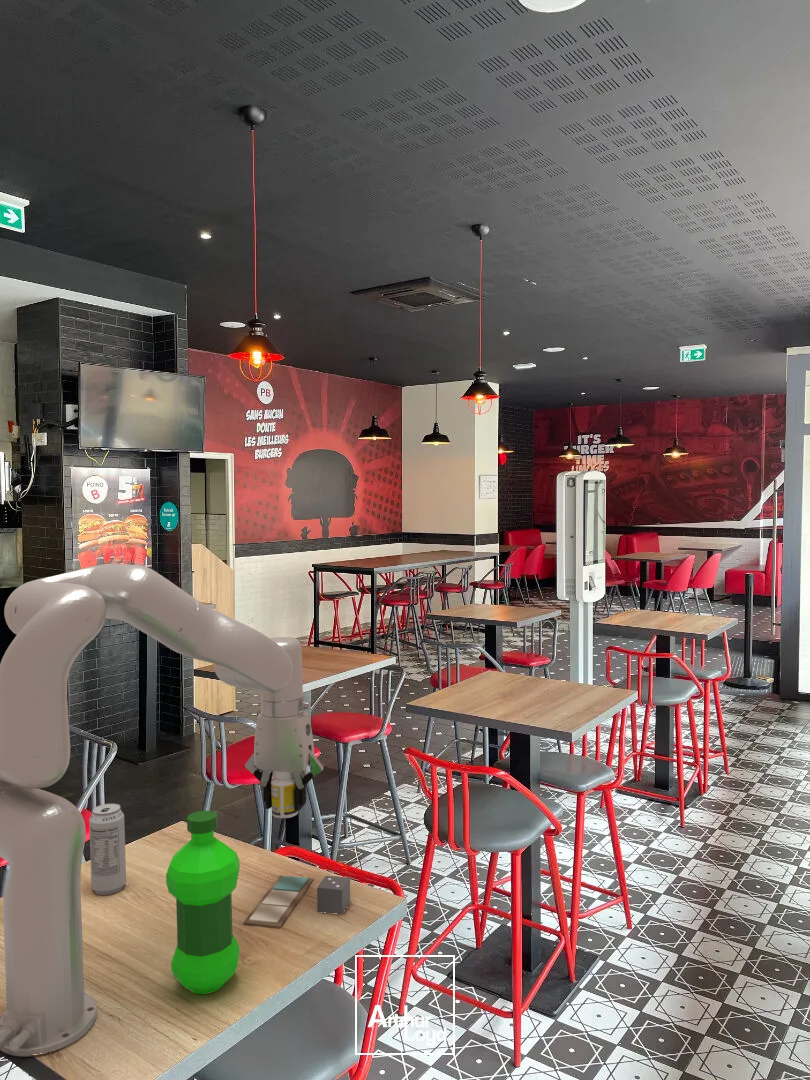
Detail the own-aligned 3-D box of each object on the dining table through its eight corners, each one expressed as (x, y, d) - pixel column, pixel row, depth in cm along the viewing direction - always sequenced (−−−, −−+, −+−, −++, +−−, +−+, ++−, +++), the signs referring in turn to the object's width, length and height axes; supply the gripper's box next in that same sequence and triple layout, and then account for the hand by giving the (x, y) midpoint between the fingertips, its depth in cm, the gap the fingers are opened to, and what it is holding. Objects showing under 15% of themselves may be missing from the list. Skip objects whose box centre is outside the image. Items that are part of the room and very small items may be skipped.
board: (280, 928, 132) (280, 924, 132) (243, 924, 133) (243, 920, 133) (313, 880, 149) (313, 876, 149) (280, 877, 150) (280, 873, 150)
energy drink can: (132, 881, 150) (129, 802, 149) (117, 897, 144) (114, 815, 143) (101, 880, 150) (98, 802, 150) (85, 895, 144) (82, 814, 144)
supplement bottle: (301, 808, 145) (300, 763, 145) (295, 819, 141) (293, 772, 140) (275, 808, 146) (274, 763, 146) (268, 818, 141) (267, 772, 141)
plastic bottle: (219, 955, 124) (215, 797, 123) (255, 984, 117) (251, 816, 115) (158, 981, 118) (153, 815, 116) (192, 1015, 110) (187, 836, 109)
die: (342, 915, 136) (341, 889, 136) (317, 913, 137) (316, 886, 137) (350, 902, 140) (349, 877, 140) (326, 900, 141) (325, 874, 141)
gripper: (333, 703, 144) (336, 802, 145) (246, 700, 148) (249, 796, 149) (320, 714, 137) (323, 818, 138) (229, 711, 141) (232, 812, 142)
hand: (285, 806), depth 143 cm, fingers closed on supplement bottle, 4 cm apart
